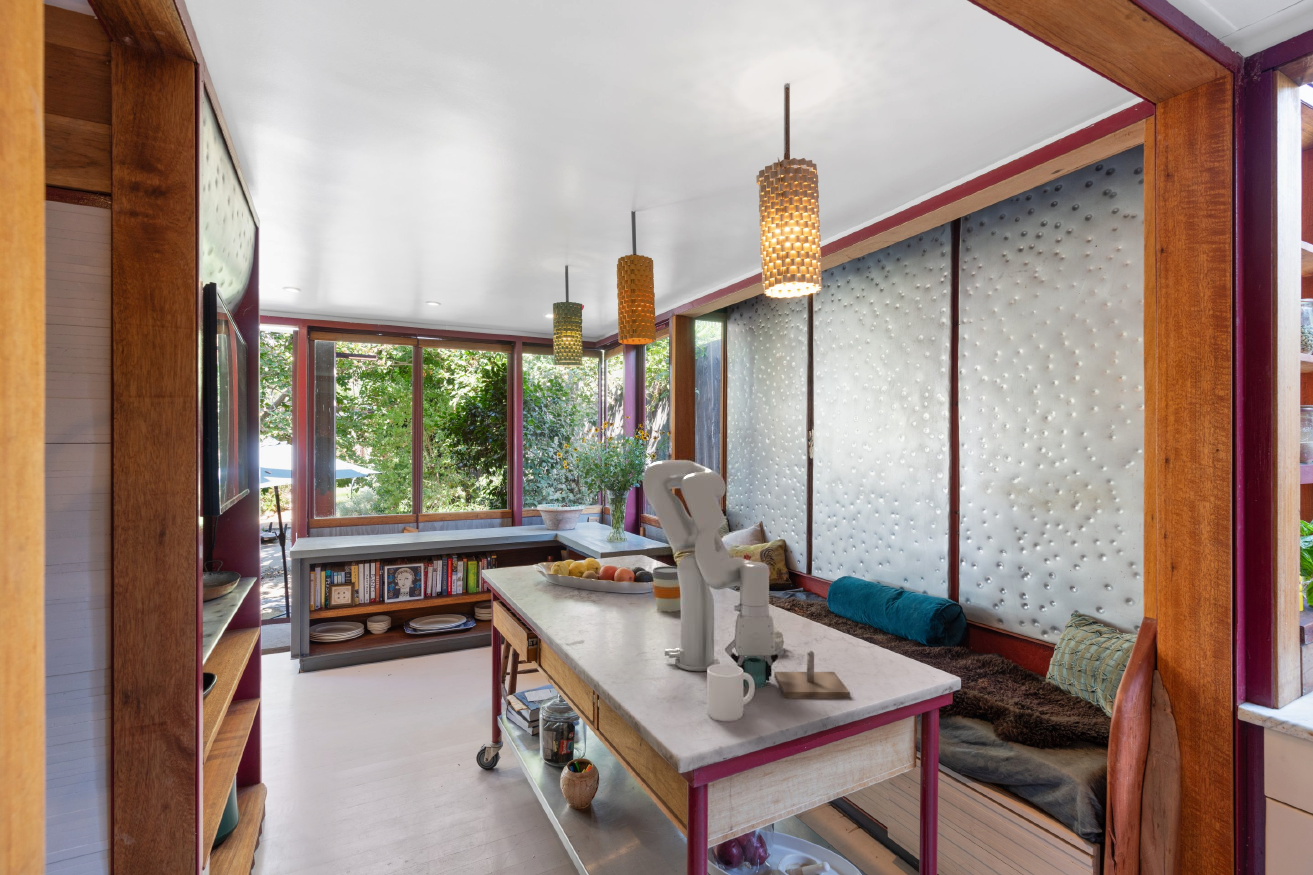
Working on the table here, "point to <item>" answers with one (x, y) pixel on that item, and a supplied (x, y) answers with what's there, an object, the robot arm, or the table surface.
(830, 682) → the spindle stand
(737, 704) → the mug
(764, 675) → the bead
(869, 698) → the table surface
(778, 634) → the fossil replica
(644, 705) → the table surface
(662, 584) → the reusable coffee cup
